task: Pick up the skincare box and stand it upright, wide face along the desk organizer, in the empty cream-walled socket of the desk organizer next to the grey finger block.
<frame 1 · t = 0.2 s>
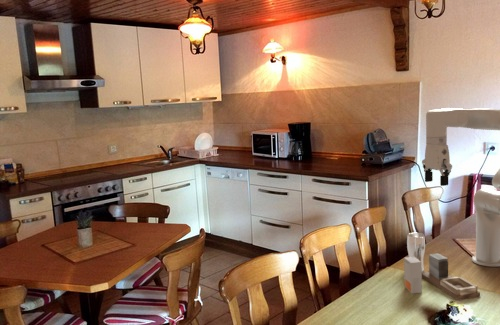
hand: (436, 183, 177), 36 cm above the table, tool pointing down, fingers open, 9 cm apart
beer glass: (416, 270, 184), on the table
desk organizer: (448, 285, 167), on the table
skincare box: (413, 290, 165), on the table
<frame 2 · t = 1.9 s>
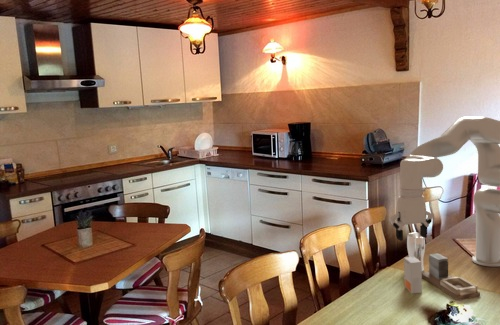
hand: (411, 238, 162), 20 cm above the table, tool pointing down, fingers open, 9 cm apart
nothing on the table moved.
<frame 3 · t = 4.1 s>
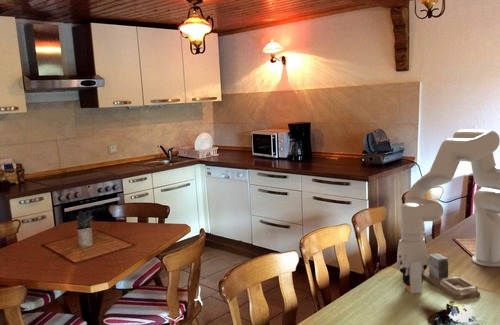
hand: (413, 282, 165), 3 cm above the table, tool pointing down, fingers closed on skincare box, 4 cm apart
skincare box: (413, 290, 165), on the table, touching gripper
everything else where it was.
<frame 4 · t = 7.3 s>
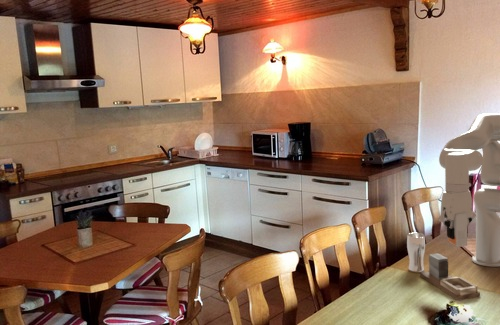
hand: (457, 236, 159), 21 cm above the table, tool pointing down, fingers closed on skincare box, 4 cm apart
skincare box: (457, 244, 159), point 18 cm above the table, touching gripper
everything else where it was.
when the fingers open (5 cm above the table, at t = 10.5 s): skincare box stays where it is, resting on desk organizer.
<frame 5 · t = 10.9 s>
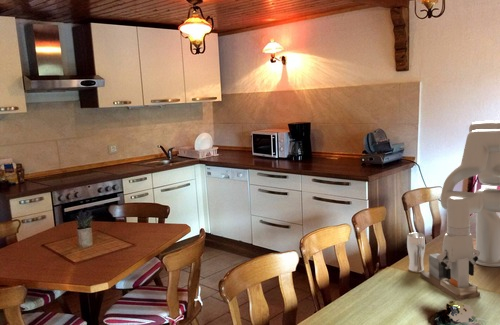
hand: (458, 276, 160), 6 cm above the table, tool pointing down, fingers open, 9 cm apart
skincare box: (458, 288, 161), point 1 cm above the table, touching desk organizer
everything else where it was.
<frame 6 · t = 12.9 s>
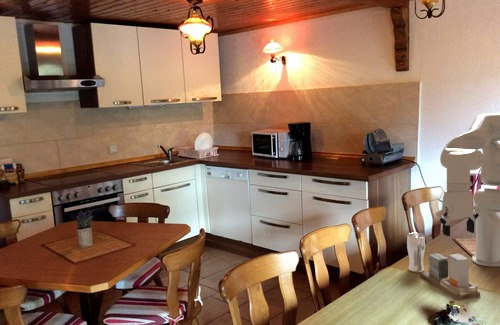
hand: (458, 233, 158), 22 cm above the table, tool pointing down, fingers open, 9 cm apart
nothing on the table moved.
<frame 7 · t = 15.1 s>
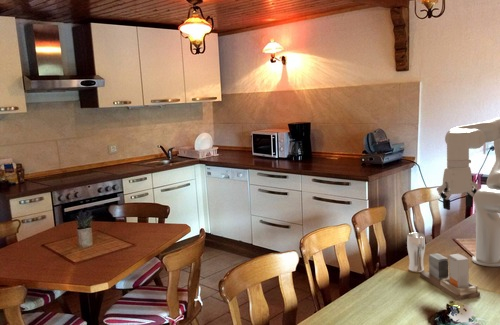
hand: (457, 207, 170), 28 cm above the table, tool pointing down, fingers open, 9 cm apart
nothing on the table moved.
at the end: skincare box 0.1 cm from the target spot on the desk organizer, point 1.3 cm above the desk organizer's base; skincare box tilted 0°; the gripper is holding nothing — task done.
